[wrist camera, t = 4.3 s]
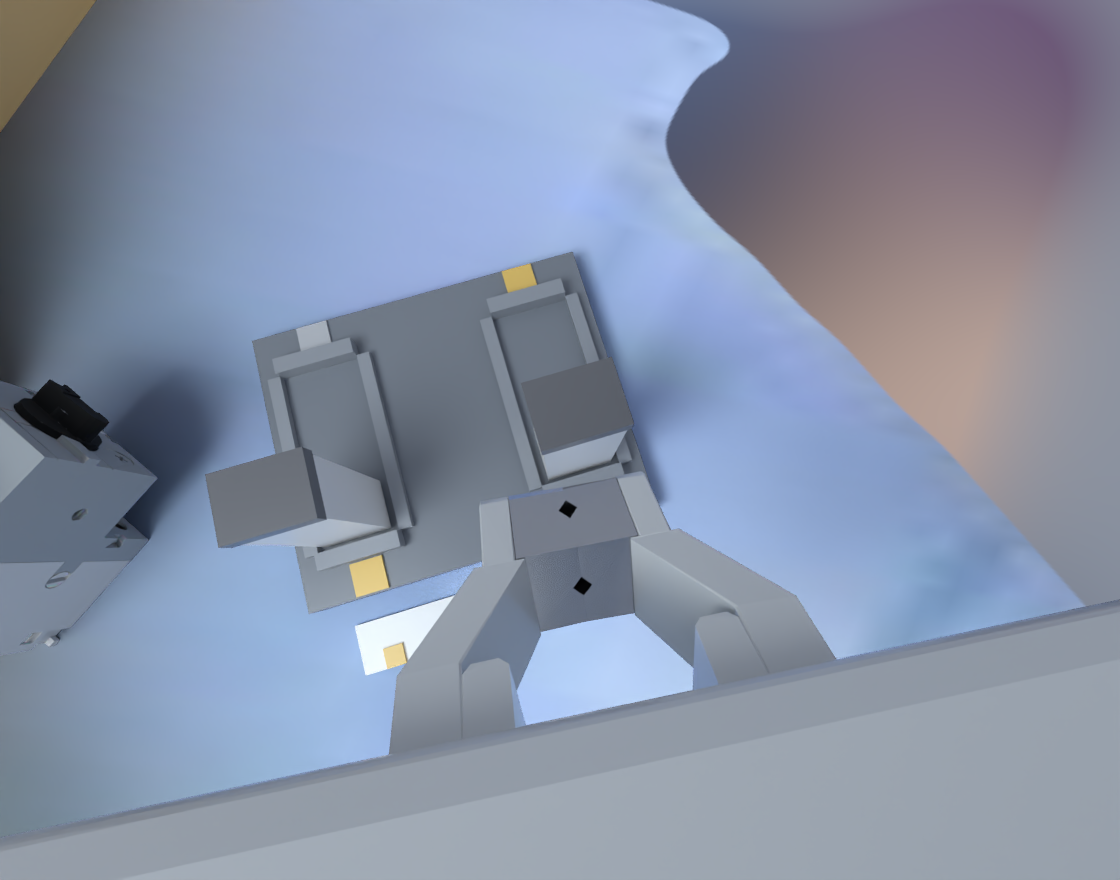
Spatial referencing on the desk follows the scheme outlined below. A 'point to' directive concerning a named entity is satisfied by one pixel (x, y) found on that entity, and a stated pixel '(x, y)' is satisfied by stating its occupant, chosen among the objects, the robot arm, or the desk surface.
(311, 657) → the desk surface
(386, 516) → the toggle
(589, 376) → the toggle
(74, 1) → the cardboard box
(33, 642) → the circuit breaker
